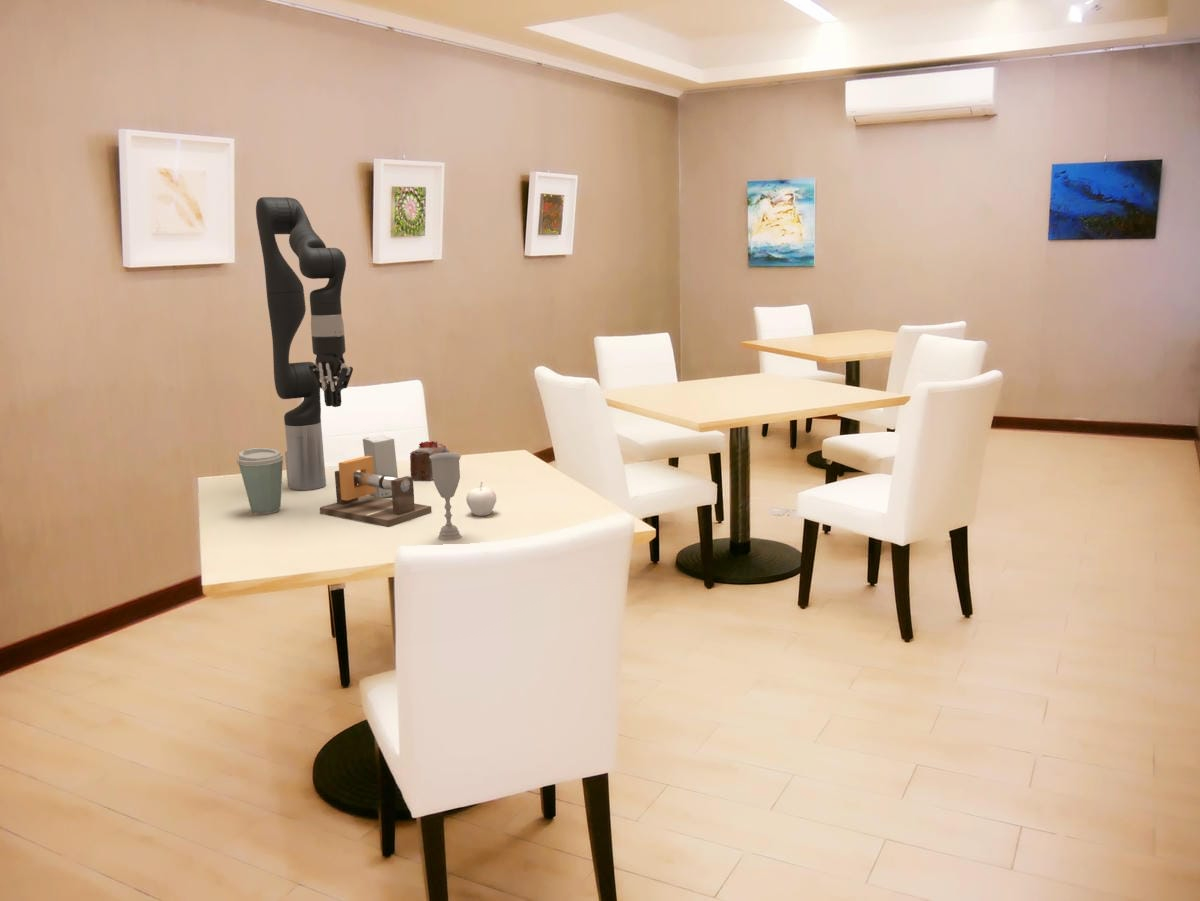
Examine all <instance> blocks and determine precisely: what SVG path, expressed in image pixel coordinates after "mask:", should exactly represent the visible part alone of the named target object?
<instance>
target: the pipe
mask: <svg viewBox="0 0 1200 901" xmlns="http://www.w3.org/2000/svg"><path fill="white" fill-rule="evenodd" d="M353 475H354V484H357V485H358V484H359V485H365V486H372V487H378V488H382V489H390V490H392V488H391V480H394V479H398V478H399V477H398V478H396V477H390V476H386V475H377V474H370V473H364V472H360V471H355V472H353ZM406 480H408V479H404V480H403V481H402V483H401V490H403V492H407V491H408V490H409V488H410V482H409V480H408V481H406ZM404 481H405V482H404ZM402 484H403V485H402ZM404 485H405V486H404ZM402 487H403V488H402ZM405 490H406V491H405Z"/></svg>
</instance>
